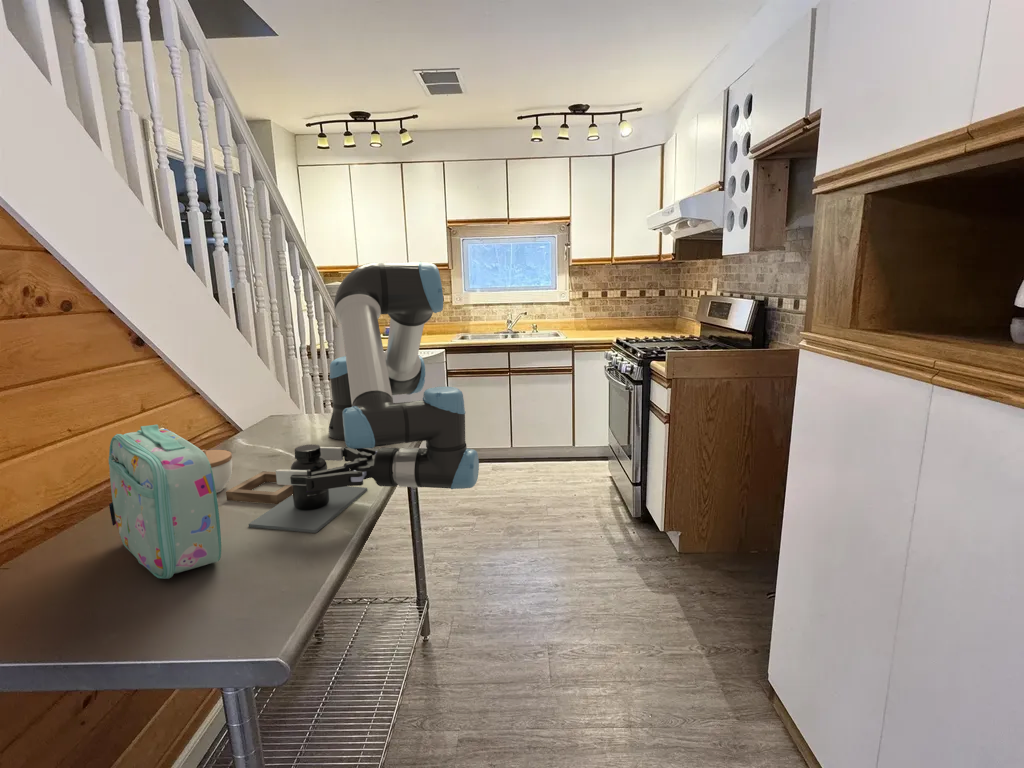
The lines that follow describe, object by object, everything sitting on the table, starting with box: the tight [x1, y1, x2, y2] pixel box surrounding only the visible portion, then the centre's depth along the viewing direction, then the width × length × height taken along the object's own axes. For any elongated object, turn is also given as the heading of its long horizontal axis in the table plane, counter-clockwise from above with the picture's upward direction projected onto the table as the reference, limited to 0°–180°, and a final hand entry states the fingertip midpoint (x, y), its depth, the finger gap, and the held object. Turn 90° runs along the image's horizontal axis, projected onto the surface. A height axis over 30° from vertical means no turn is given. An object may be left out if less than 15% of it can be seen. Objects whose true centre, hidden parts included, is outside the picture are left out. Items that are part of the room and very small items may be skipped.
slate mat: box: [248, 486, 368, 534], centre depth 108 cm, size 20×14×1 cm
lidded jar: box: [201, 449, 233, 494], centre depth 117 cm, size 11×11×9 cm
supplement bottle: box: [290, 444, 329, 511], centre depth 107 cm, size 7×7×12 cm
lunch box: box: [108, 424, 222, 580], centre depth 89 cm, size 27×10×21 cm, turn 50°
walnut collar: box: [225, 470, 293, 505], centre depth 117 cm, size 12×12×2 cm
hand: (295, 464), depth 106 cm, fingers open, 13 cm apart
